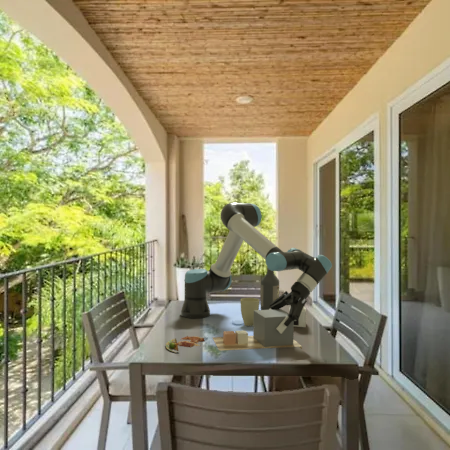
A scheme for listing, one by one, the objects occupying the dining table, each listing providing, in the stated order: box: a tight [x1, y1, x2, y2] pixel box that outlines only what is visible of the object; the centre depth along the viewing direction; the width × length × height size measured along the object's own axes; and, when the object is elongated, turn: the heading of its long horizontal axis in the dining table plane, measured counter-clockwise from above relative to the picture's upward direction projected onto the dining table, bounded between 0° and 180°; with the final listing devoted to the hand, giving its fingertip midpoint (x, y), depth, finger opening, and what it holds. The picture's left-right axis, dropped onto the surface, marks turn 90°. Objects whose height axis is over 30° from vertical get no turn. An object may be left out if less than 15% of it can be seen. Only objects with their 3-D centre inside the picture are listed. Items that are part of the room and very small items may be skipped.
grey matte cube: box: [252, 308, 295, 347], centre depth 150 cm, size 12×12×11 cm
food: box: [165, 335, 206, 354], centre depth 147 cm, size 18×18×3 cm
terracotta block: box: [222, 330, 236, 345], centre depth 147 cm, size 4×4×4 cm
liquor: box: [260, 266, 280, 310], centre depth 210 cm, size 9×9×30 cm
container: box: [288, 304, 307, 328], centre depth 181 cm, size 8×8×13 cm
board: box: [212, 335, 303, 352], centre depth 149 cm, size 16×32×2 cm, turn 101°
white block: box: [234, 330, 249, 344], centre depth 148 cm, size 4×4×4 cm
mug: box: [239, 297, 260, 327], centre depth 180 cm, size 11×10×12 cm
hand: (270, 326), depth 150 cm, fingers open, 13 cm apart
